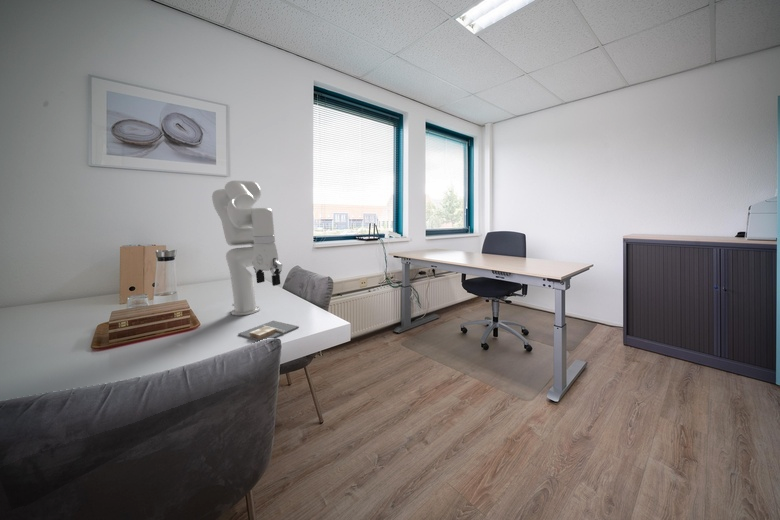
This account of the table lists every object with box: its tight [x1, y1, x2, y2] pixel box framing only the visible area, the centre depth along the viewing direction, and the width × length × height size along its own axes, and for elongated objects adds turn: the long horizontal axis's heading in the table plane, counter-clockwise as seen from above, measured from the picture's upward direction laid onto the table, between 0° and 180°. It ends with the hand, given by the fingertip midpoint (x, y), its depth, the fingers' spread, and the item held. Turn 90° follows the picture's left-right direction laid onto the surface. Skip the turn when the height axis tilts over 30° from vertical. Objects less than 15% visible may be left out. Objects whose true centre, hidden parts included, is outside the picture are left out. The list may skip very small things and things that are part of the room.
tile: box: [250, 326, 276, 339], centre depth 112 cm, size 6×2×7 cm
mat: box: [237, 320, 300, 342], centre depth 117 cm, size 16×16×2 cm
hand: (268, 283), depth 116 cm, fingers open, 9 cm apart
